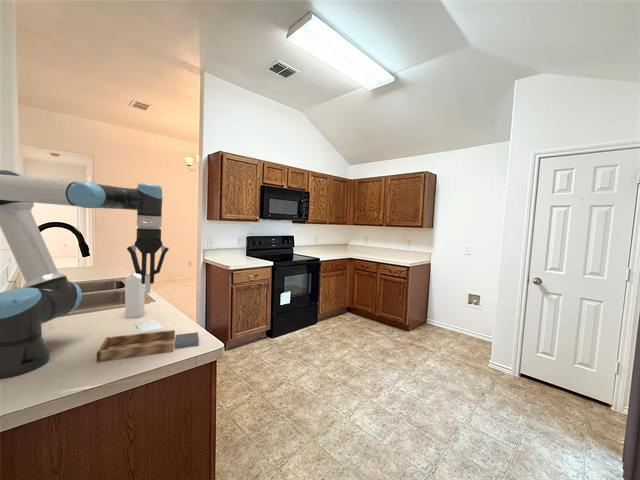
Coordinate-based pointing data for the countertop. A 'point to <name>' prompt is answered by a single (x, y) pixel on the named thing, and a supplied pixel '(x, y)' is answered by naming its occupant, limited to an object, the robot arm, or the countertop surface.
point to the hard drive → (149, 326)
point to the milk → (134, 296)
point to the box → (136, 345)
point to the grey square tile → (186, 340)
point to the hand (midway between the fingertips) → (147, 292)
